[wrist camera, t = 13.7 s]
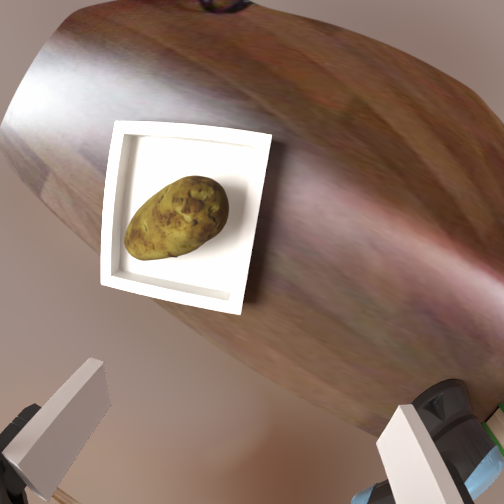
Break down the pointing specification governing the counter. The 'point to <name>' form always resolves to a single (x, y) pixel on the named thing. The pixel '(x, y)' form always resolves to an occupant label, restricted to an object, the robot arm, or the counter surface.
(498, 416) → the hardback book
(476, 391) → the counter surface
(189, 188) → the potato
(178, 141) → the tray
